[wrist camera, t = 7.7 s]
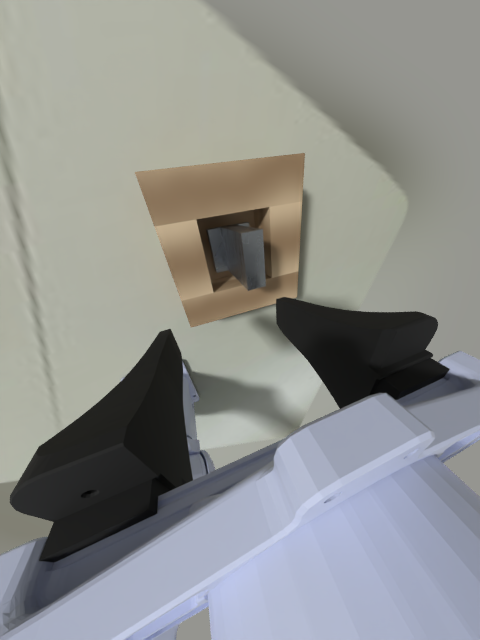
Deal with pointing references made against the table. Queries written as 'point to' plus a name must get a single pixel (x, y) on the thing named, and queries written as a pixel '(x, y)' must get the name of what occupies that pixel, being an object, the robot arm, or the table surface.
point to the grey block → (239, 253)
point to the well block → (221, 210)
